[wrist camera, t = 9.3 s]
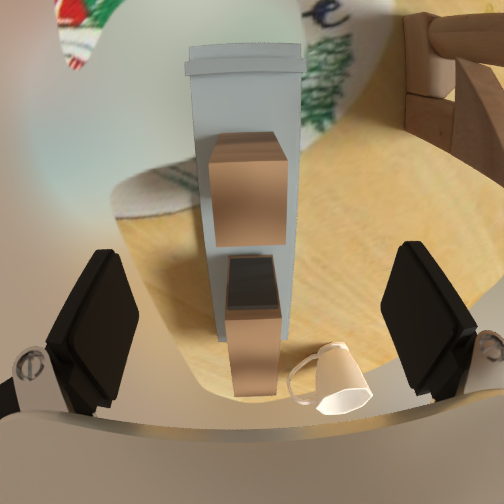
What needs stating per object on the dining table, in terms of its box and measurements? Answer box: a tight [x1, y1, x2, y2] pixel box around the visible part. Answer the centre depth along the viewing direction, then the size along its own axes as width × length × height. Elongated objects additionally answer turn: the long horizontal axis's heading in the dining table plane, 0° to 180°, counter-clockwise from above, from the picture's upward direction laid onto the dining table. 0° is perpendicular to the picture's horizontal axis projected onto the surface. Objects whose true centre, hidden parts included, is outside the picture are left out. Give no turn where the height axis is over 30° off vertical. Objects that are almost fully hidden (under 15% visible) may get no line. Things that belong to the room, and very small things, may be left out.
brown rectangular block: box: [208, 132, 288, 247], centre depth 20 cm, size 5×4×8 cm
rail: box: [185, 43, 307, 342], centre depth 26 cm, size 30×8×3 cm, turn 1°
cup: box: [287, 342, 373, 415], centre depth 35 cm, size 7×10×8 cm
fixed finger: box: [225, 254, 282, 397], centre depth 27 cm, size 11×4×8 cm, turn 1°
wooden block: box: [403, 12, 504, 188], centre depth 12 cm, size 4×11×18 cm, turn 5°
